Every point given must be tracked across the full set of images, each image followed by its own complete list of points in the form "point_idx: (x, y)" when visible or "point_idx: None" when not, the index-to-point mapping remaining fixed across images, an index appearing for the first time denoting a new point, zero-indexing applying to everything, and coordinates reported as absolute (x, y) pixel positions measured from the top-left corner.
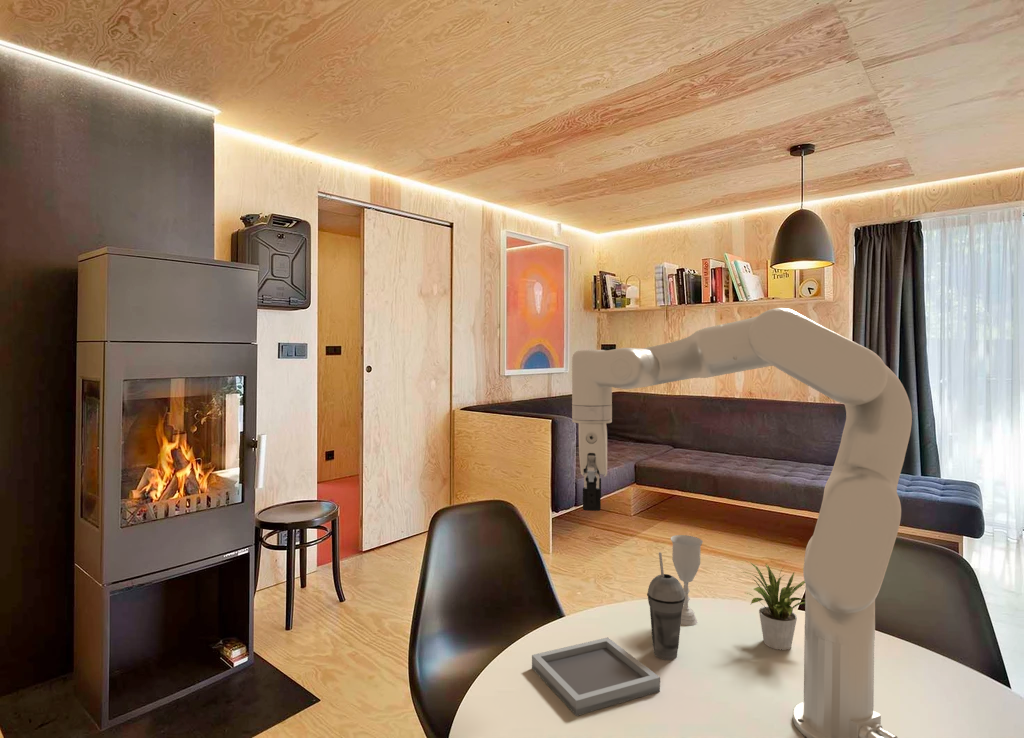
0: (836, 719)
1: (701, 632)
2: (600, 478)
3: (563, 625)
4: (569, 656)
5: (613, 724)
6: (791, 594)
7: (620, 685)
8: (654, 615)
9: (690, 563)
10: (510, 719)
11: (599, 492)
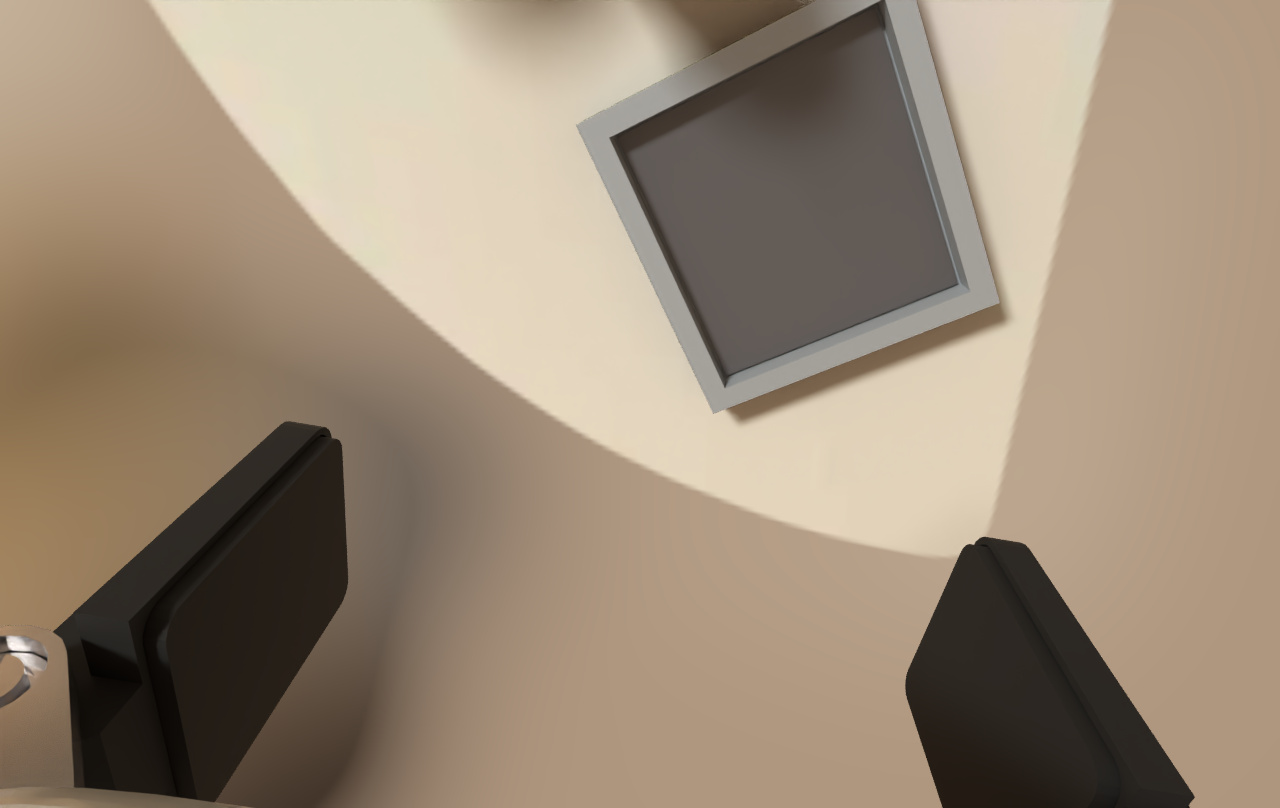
0: None
1: None
2: (124, 630)
3: (405, 270)
4: (680, 283)
5: (1045, 180)
6: None
7: (936, 138)
8: None
9: None
10: (963, 457)
11: (1147, 750)
